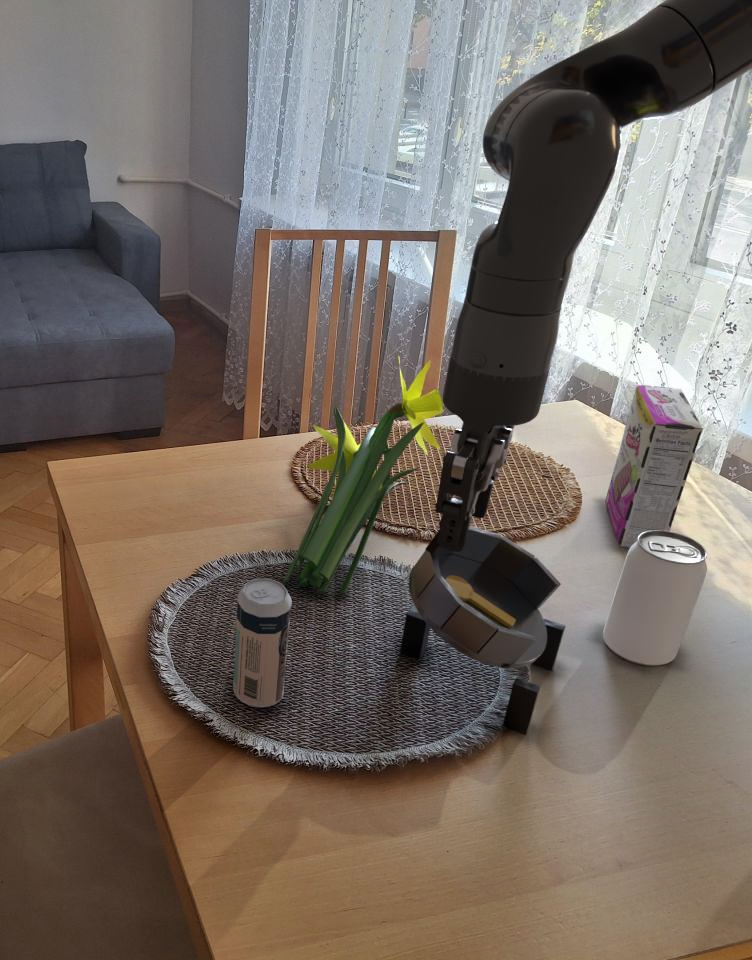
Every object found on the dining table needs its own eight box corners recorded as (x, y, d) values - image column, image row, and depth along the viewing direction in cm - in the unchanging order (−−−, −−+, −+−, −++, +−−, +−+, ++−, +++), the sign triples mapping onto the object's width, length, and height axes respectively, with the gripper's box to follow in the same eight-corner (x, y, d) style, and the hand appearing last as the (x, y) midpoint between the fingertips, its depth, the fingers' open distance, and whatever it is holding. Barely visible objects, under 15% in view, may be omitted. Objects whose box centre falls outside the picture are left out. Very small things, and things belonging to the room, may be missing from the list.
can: (681, 674, 82) (720, 571, 76) (605, 660, 84) (637, 558, 78) (668, 633, 87) (704, 533, 81) (597, 620, 89) (627, 523, 83)
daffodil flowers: (219, 572, 101) (323, 396, 121) (322, 646, 100) (409, 456, 120) (287, 504, 87) (392, 319, 107) (407, 589, 86) (490, 386, 107)
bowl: (557, 615, 82) (614, 554, 77) (522, 695, 73) (584, 632, 68) (430, 533, 87) (476, 470, 81) (382, 599, 78) (430, 533, 72)
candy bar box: (601, 501, 110) (635, 383, 102) (645, 507, 108) (683, 387, 100) (615, 548, 101) (653, 422, 93) (663, 555, 99) (707, 427, 91)
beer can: (292, 704, 80) (302, 601, 74) (245, 716, 79) (251, 612, 73) (270, 671, 84) (277, 571, 78) (224, 682, 83) (229, 581, 77)
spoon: (516, 617, 79) (518, 615, 79) (508, 633, 77) (510, 631, 77) (448, 573, 82) (450, 570, 81) (439, 587, 80) (441, 585, 79)
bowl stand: (554, 665, 84) (565, 625, 81) (525, 735, 76) (537, 692, 74) (421, 619, 90) (428, 580, 88) (383, 678, 83) (389, 638, 80)
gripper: (527, 396, 62) (481, 583, 71) (570, 338, 72) (525, 508, 81) (424, 374, 66) (392, 554, 74) (478, 322, 76) (445, 485, 84)
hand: (461, 529), depth 77 cm, fingers closed on bowl, 6 cm apart
